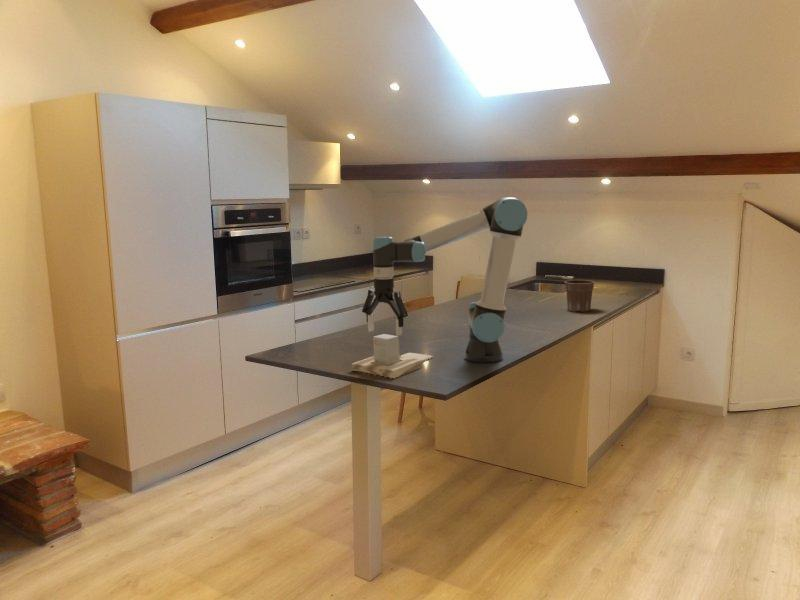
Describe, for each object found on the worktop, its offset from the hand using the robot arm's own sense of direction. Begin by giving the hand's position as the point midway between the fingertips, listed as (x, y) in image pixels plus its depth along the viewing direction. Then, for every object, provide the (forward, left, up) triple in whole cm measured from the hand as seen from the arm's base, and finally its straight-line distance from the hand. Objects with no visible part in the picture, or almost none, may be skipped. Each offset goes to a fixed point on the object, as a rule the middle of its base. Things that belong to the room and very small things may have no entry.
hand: (384, 333), depth 239 cm
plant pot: (-19, -150, -15) cm, 152 cm away
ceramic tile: (0, -18, -14) cm, 23 cm away
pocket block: (0, 0, -14) cm, 14 cm away
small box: (0, 0, -15) cm, 14 cm away
